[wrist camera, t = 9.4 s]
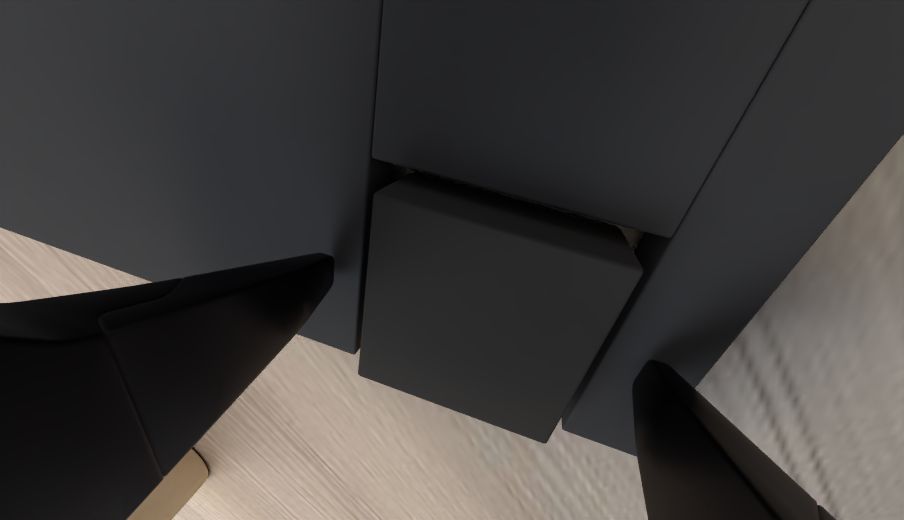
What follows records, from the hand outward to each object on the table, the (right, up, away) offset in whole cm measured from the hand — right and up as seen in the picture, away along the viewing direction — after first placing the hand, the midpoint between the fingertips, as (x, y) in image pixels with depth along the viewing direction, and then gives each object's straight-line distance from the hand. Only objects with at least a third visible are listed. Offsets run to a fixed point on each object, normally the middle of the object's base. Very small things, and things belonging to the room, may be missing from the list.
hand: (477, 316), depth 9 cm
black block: (0, +1, +2) cm, 2 cm away
